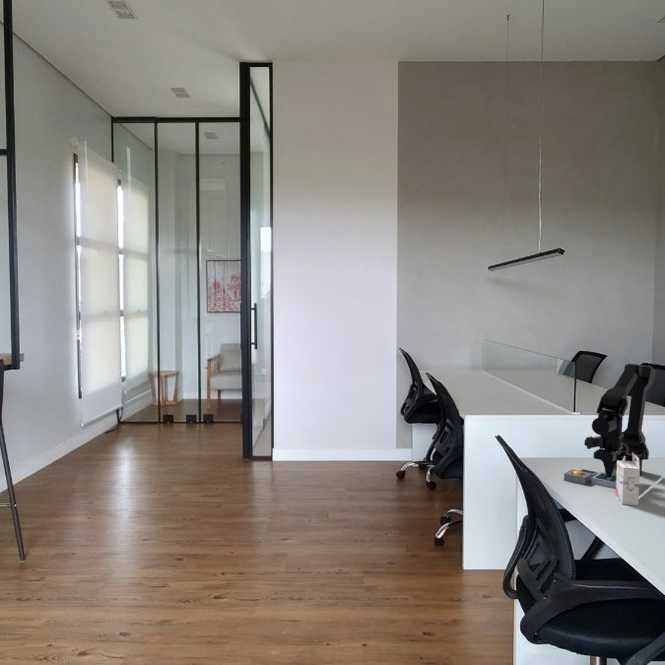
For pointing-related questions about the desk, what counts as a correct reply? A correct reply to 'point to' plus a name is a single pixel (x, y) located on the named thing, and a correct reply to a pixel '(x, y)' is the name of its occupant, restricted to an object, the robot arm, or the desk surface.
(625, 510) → the desk surface
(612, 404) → the robot arm
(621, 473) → the ink cartridge box
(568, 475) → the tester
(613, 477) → the cylinder
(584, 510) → the desk surface
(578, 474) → the tester button
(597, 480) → the cup
